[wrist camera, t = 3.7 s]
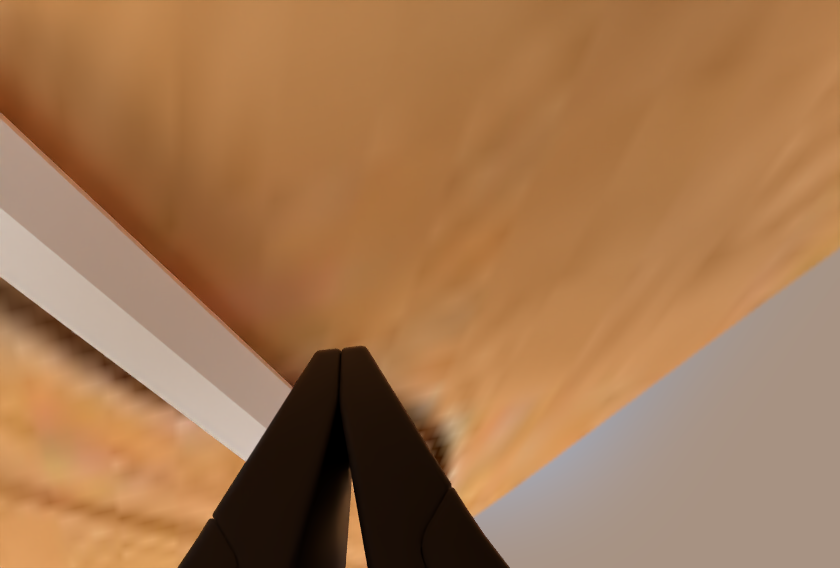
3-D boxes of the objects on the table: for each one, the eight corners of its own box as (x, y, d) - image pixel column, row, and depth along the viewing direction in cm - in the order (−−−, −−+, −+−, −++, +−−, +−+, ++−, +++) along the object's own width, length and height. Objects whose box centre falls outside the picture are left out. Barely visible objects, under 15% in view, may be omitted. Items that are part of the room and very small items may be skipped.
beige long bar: (-256, -135, 9) (324, 414, 17) (-395, -65, 8) (274, 464, 17) (-360, -213, 7) (360, 457, 15) (-554, -124, 6) (304, 515, 15)
